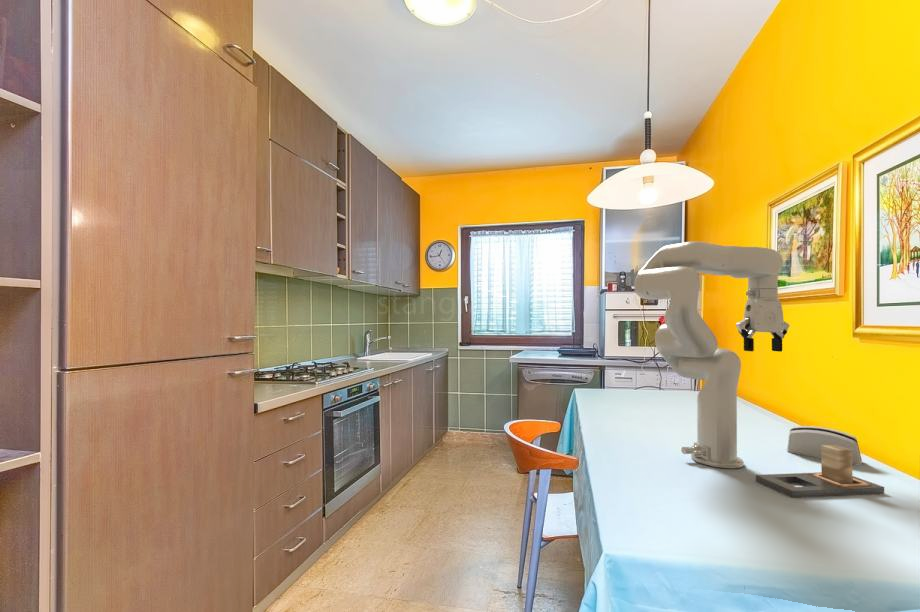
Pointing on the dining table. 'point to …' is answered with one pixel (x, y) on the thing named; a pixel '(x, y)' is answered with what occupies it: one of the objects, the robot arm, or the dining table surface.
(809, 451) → the grey slotted arched block
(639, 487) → the dining table surface
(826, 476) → the plug
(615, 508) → the dining table surface
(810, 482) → the grey flat holed plate
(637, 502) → the dining table surface
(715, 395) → the robot arm
